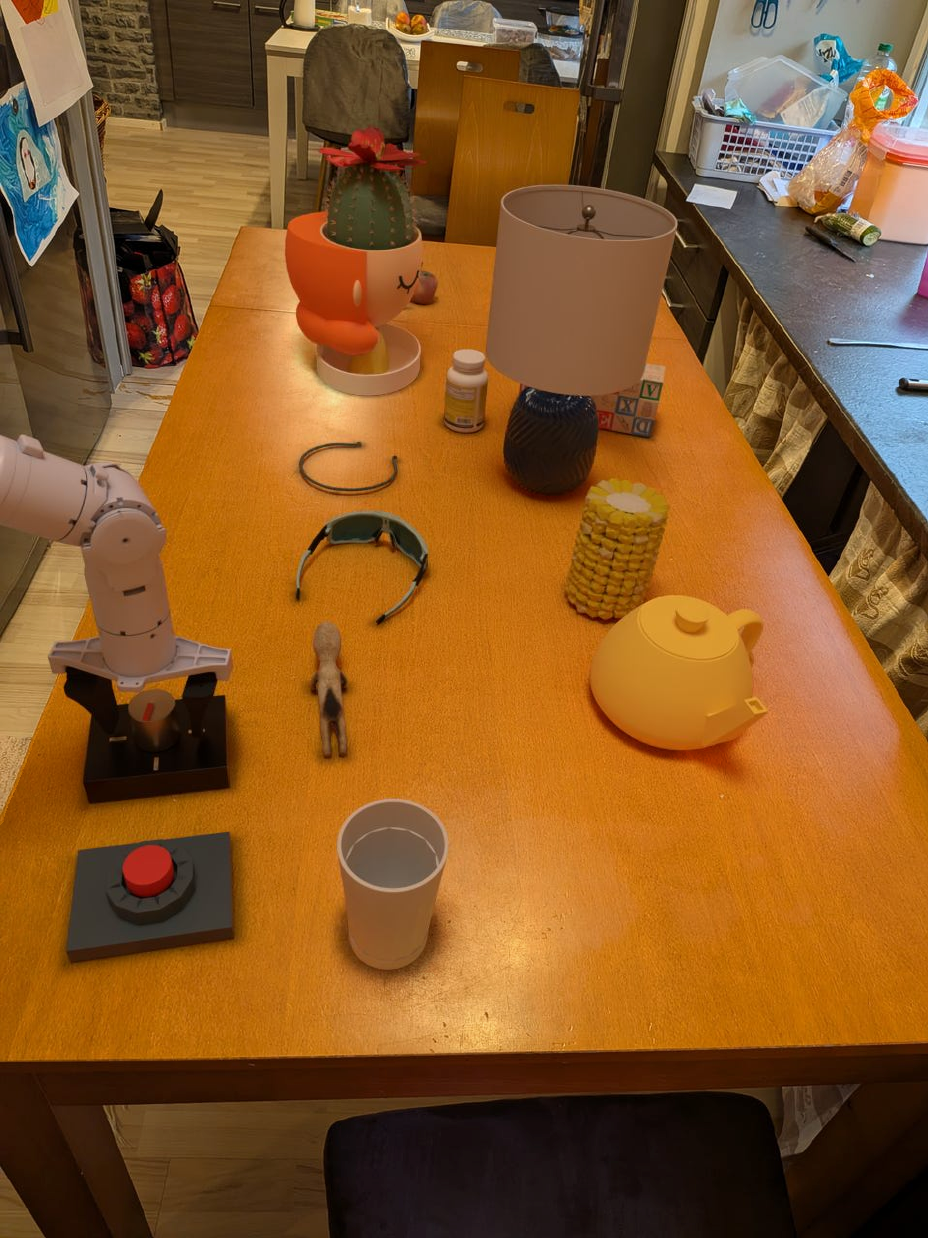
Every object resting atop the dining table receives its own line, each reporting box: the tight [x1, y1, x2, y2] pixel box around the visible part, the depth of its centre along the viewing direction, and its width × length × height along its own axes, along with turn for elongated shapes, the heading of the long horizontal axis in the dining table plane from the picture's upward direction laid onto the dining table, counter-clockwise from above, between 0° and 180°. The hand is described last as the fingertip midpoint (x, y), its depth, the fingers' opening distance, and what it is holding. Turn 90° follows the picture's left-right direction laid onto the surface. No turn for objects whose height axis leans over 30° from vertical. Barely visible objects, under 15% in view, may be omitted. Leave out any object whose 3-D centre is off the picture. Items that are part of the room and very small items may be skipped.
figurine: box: [309, 621, 348, 758], centre depth 89 cm, size 4×4×15 cm
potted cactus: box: [284, 125, 427, 397], centre depth 138 cm, size 22×22×35 cm
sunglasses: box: [295, 509, 429, 625], centre depth 105 cm, size 14×15×5 cm
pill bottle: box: [443, 348, 489, 434], centre depth 133 cm, size 6×6×11 cm
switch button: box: [123, 845, 174, 897], centre depth 70 cm, size 4×4×2 cm
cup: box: [336, 798, 450, 971], centre depth 68 cm, size 8×8×12 cm
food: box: [564, 477, 670, 621], centre depth 103 cm, size 15×12×10 cm
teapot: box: [588, 594, 769, 751], centre depth 90 cm, size 20×19×13 cm
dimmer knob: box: [127, 688, 181, 752], centre depth 80 cm, size 4×4×4 cm
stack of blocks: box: [518, 363, 666, 438], centre depth 138 cm, size 21×6×12 cm, turn 76°
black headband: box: [298, 441, 398, 493], centre depth 124 cm, size 14×13×1 cm
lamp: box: [485, 184, 678, 497], centre depth 114 cm, size 20×20×37 cm
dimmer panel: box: [82, 694, 231, 805], centre depth 82 cm, size 12×9×3 cm
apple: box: [410, 270, 439, 305], centre depth 171 cm, size 6×8×6 cm
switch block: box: [65, 831, 235, 963], centre depth 71 cm, size 12×9×4 cm
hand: (156, 728), depth 81 cm, fingers open, 7 cm apart
